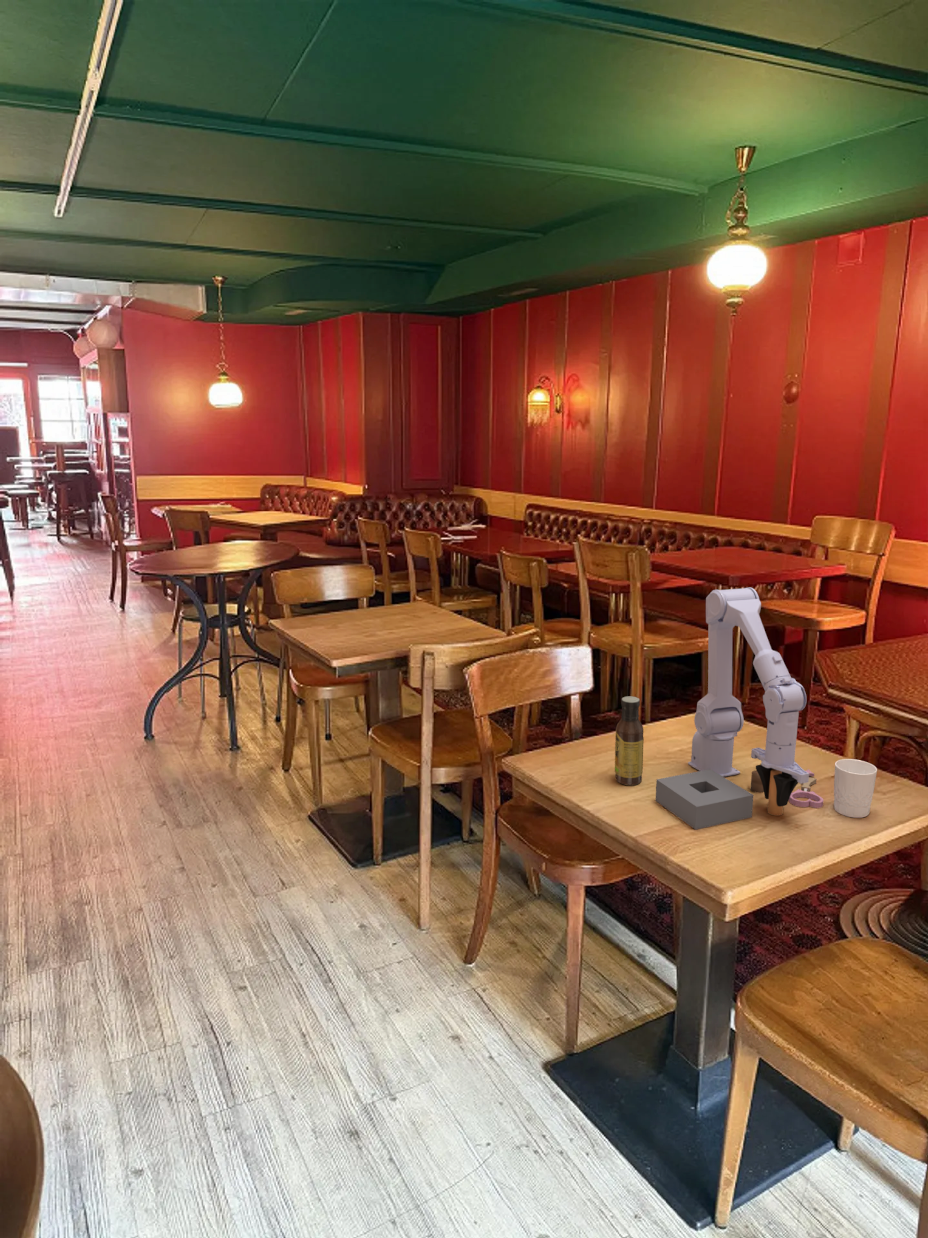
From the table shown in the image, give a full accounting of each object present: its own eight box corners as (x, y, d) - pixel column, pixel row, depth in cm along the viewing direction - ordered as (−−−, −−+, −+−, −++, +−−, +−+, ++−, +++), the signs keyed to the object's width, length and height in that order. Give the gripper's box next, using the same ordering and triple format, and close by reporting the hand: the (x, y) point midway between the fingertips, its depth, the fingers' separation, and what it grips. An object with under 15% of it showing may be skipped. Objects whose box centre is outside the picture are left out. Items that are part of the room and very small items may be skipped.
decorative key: (826, 769, 188) (822, 805, 170) (825, 774, 188) (822, 810, 171) (794, 764, 191) (788, 799, 173) (794, 769, 191) (787, 804, 174)
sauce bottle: (618, 773, 190) (621, 692, 186) (645, 778, 187) (648, 696, 183) (610, 783, 185) (613, 700, 180) (637, 789, 182) (641, 704, 177)
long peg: (764, 810, 171) (767, 770, 169) (775, 808, 172) (778, 768, 170) (774, 816, 168) (777, 776, 166) (785, 814, 170) (789, 774, 167)
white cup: (852, 822, 166) (857, 777, 163) (822, 806, 173) (826, 762, 170) (880, 815, 169) (886, 770, 166) (850, 799, 176) (854, 756, 173)
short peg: (747, 788, 182) (748, 771, 181) (758, 786, 183) (759, 769, 182) (756, 793, 179) (758, 777, 178) (767, 791, 180) (769, 774, 179)
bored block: (655, 800, 176) (656, 779, 175) (709, 790, 181) (710, 769, 180) (695, 829, 163) (696, 806, 162) (751, 817, 168) (753, 795, 167)
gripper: (741, 731, 172) (737, 790, 175) (791, 756, 159) (785, 820, 162) (768, 726, 174) (763, 785, 177) (819, 751, 161) (813, 814, 164)
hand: (775, 801), depth 170 cm, fingers closed on long peg, 3 cm apart
